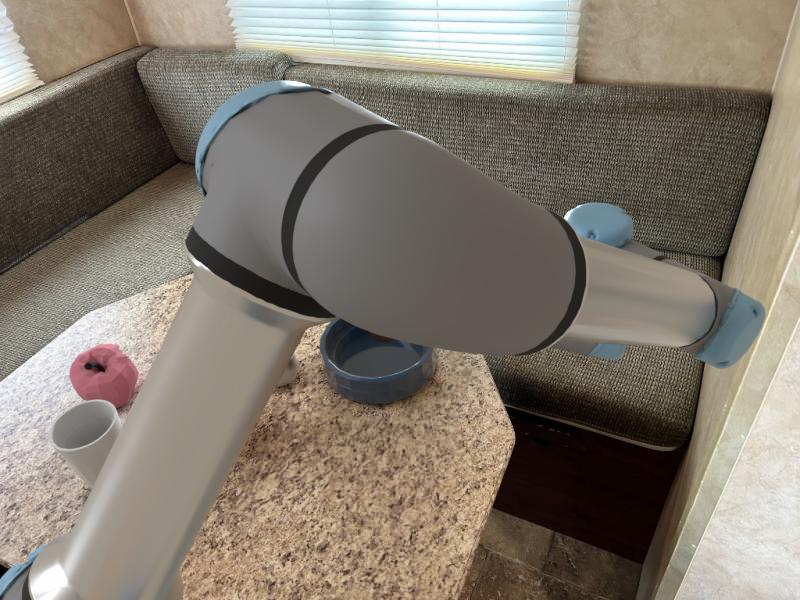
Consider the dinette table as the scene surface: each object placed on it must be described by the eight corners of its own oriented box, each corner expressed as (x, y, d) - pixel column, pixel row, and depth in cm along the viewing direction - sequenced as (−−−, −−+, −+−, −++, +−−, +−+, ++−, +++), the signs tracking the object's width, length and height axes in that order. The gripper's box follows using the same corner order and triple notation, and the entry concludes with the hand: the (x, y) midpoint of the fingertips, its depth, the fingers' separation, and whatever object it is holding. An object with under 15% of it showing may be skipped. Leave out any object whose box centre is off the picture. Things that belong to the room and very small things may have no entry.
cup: (122, 514, 78) (85, 458, 71) (75, 497, 81) (33, 441, 73) (161, 464, 84) (130, 407, 76) (115, 450, 86) (81, 393, 79)
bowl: (322, 412, 89) (316, 386, 85) (328, 331, 102) (323, 306, 99) (441, 402, 89) (440, 376, 85) (432, 322, 102) (430, 297, 99)
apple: (156, 402, 93) (132, 356, 86) (99, 433, 89) (71, 386, 83) (134, 369, 99) (111, 323, 93) (80, 396, 95) (52, 351, 89)
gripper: (487, 366, 76) (324, 326, 84) (519, 294, 86) (371, 264, 95) (488, 322, 71) (315, 283, 79) (521, 251, 81) (365, 223, 90)
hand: (345, 273), depth 87 cm, fingers closed on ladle, 2 cm apart
